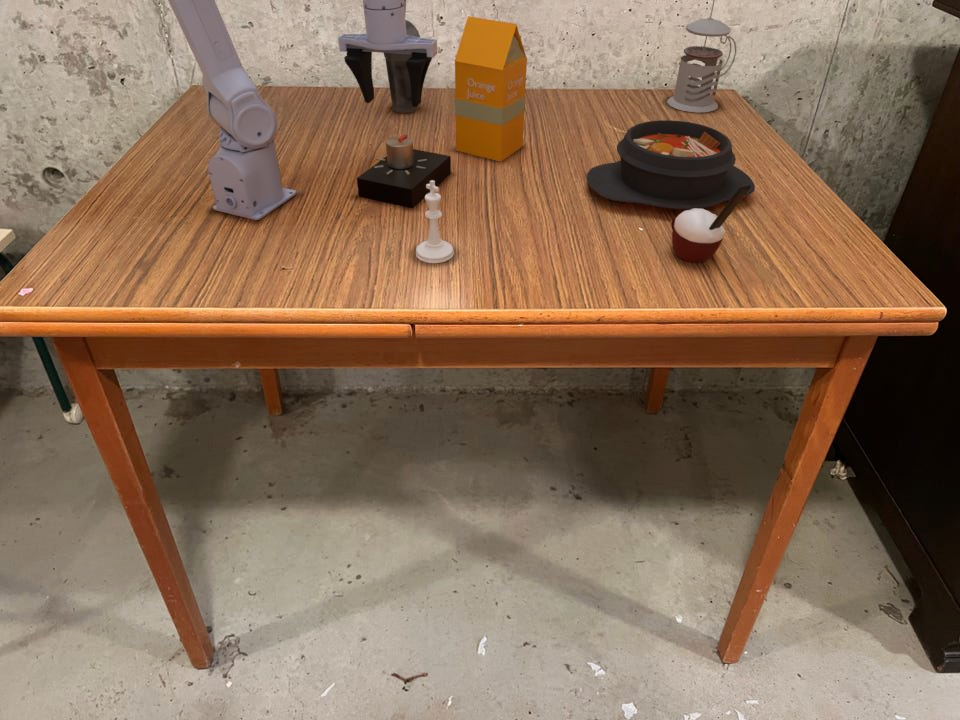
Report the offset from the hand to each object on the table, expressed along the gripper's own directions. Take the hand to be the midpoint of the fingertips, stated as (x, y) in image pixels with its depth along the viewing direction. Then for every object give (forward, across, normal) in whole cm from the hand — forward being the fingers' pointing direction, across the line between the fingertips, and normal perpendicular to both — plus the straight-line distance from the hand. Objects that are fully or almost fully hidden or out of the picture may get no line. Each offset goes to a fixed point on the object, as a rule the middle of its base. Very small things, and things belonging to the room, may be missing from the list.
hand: (393, 102), depth 105 cm
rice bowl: (+10, -47, +18) cm, 51 cm away
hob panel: (+10, -4, +8) cm, 13 cm away
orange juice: (+10, -13, -10) cm, 19 cm away
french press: (+12, -46, -43) cm, 64 cm away
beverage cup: (+10, +7, -24) cm, 27 cm away
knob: (+7, -3, +7) cm, 10 cm away
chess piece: (+10, -14, +26) cm, 31 cm away
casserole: (+11, -43, -1) cm, 44 cm away
